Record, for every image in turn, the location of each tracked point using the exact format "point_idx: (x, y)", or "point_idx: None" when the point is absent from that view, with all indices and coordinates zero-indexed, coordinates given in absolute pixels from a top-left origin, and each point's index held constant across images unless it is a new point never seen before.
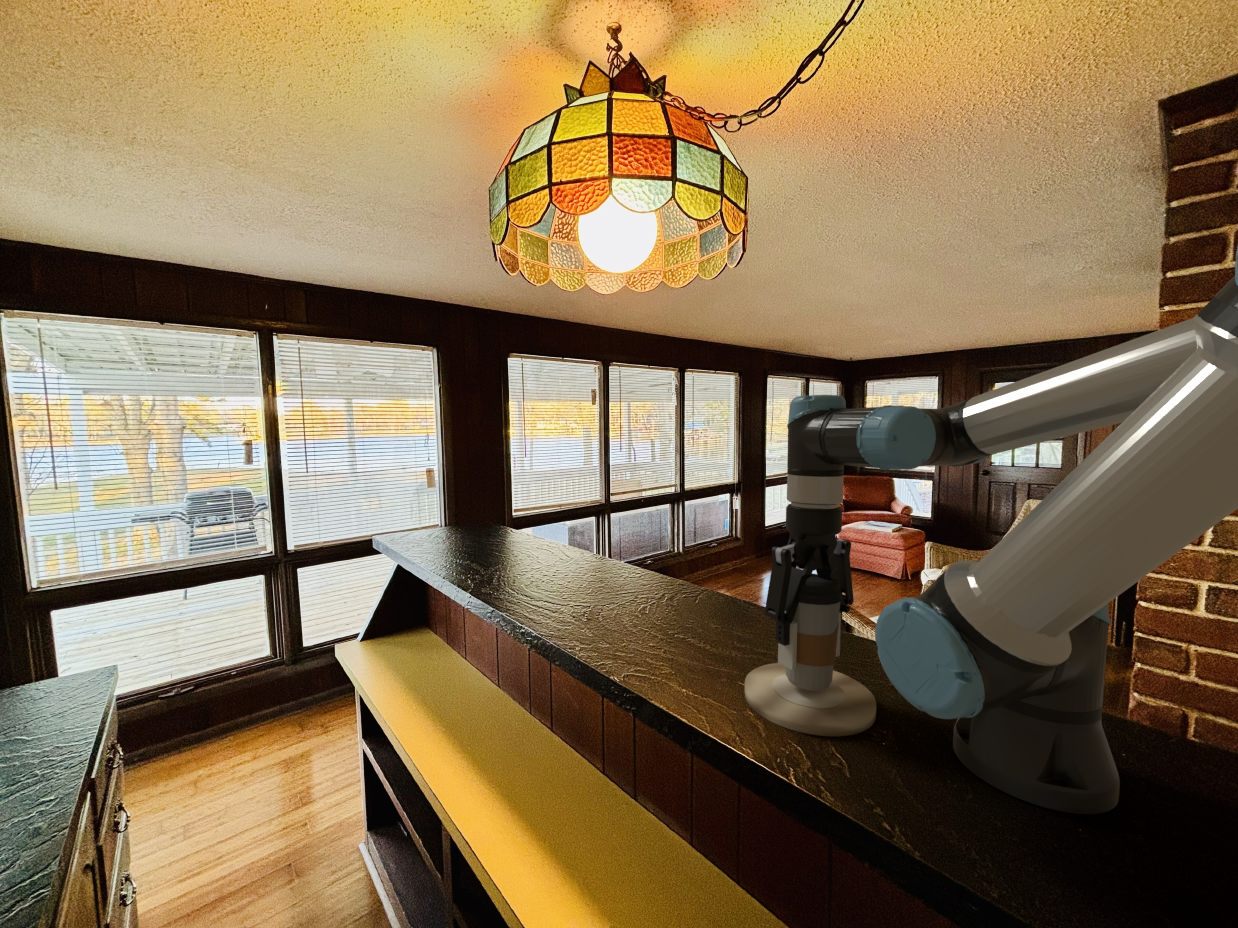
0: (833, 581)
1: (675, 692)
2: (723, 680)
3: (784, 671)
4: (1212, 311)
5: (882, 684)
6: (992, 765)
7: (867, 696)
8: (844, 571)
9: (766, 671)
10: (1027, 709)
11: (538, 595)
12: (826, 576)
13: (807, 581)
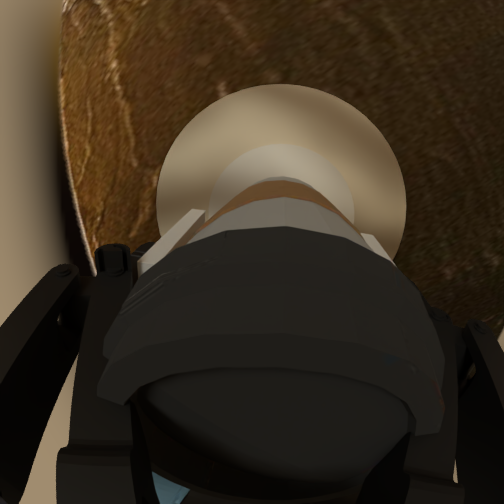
0: (342, 488)
1: (98, 67)
2: (199, 62)
3: (315, 134)
4: None
5: (438, 263)
6: None
7: None
8: (461, 482)
9: (278, 108)
10: None
11: None
12: (371, 481)
13: (250, 442)
